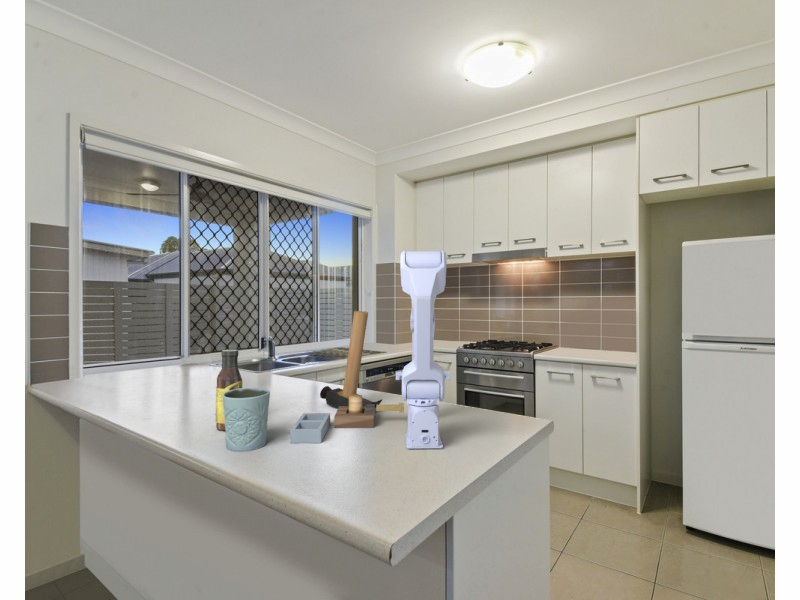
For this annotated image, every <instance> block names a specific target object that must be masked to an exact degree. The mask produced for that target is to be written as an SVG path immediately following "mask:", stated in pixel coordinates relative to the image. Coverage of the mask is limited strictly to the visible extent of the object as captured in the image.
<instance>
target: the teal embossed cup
mask: <svg viewBox="0 0 800 600" xmlns="http://www.w3.org/2000/svg"><path fill="white" fill-rule="evenodd" d="M222 396H223V409H224V416H225V430H224V431H225V436H224V437H225V438H224V441H225V449H227V450H228V451H230V452H234V453H236V452H237V453H238V452H239V453H240V452H241V453H242V452H244V453H245V452H251V451H255V450H258V449H261V448H263V447H265V445H266V444H267V438H268V437H267V436H268V435H267V433H268V432H267V430H268V419H269V417H268V416H269V406H270V396H271V390H270V389H268V388H264V387H242V388H240V389H234V390H230V391H227V392H225V393H224V394H223V395H222Z"/></svg>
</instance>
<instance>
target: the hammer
mask: <svg viewBox="0 0 800 600" xmlns="http://www.w3.org/2000/svg"><path fill="white" fill-rule="evenodd" d="M368 316H369V311H361V310H354V311H353V318H352V324H351V331H350V339H349V343H348V344H349V347H348V354H347V360H346V365H345V366H346V367H345V375H344V381H343V387H342V388H340V387H337V388H334V389H332V388H331V387H330V386H328V385H326V386H324V387H322V388H321V390H320V393H319V398H321V399H323V400H325V402H326V403H325V404H326V405H329V406H331V407H334V408H336V409H338V408H339V406H349V396H350V395H359V393H357V391H358V386H359V378H360V372H361V365H362V359H363V352H364V344H365V337H366V332H367V323H368ZM382 401H383V399H379V400H376V401H372V400H369V399H367V398H364V397H362V406H366V404H375V410H376V406H377V405H381V403H382Z"/></svg>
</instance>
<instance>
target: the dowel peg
mask: <svg viewBox="0 0 800 600" xmlns="http://www.w3.org/2000/svg"><path fill="white" fill-rule="evenodd" d="M362 398H363V395H362V394H358V395H350V396H349V413H362Z"/></svg>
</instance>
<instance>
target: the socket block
mask: <svg viewBox="0 0 800 600" xmlns="http://www.w3.org/2000/svg"><path fill="white" fill-rule="evenodd" d="M375 420H376V409H375V404H366V406H362V413H349V406H339V408H337V410H336V412H335V414H334V416H333V422H334V423H333V428H334V429H374V426H375Z"/></svg>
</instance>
